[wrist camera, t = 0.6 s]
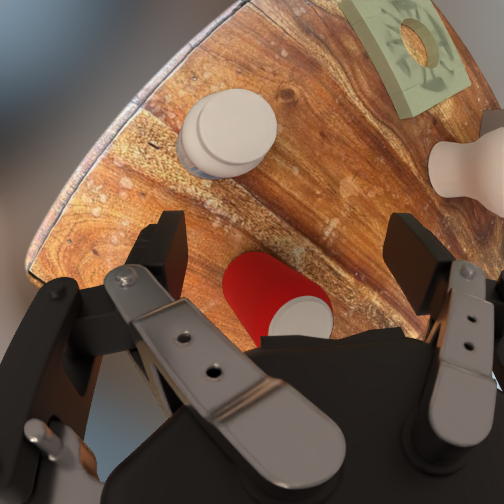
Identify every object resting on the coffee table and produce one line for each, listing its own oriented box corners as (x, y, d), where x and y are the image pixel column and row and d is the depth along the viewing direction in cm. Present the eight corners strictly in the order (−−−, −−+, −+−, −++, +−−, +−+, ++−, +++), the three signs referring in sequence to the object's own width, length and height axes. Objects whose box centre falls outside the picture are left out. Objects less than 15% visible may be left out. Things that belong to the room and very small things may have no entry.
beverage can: (237, 320, 32) (281, 386, 21) (208, 268, 30) (242, 319, 19) (288, 289, 33) (353, 339, 22) (264, 237, 31) (326, 268, 20)
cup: (469, 198, 40) (553, 211, 26) (426, 217, 37) (523, 237, 23) (458, 127, 37) (545, 124, 23) (413, 135, 34) (515, 129, 20)
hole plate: (337, 4, 28) (348, -4, 26) (411, -7, 30) (422, -13, 28) (399, 119, 33) (413, 117, 31) (459, 87, 36) (472, 84, 33)
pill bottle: (252, 136, 29) (306, 113, 18) (219, 191, 29) (257, 196, 19) (197, 102, 27) (224, 58, 16) (162, 158, 27) (166, 142, 17)
